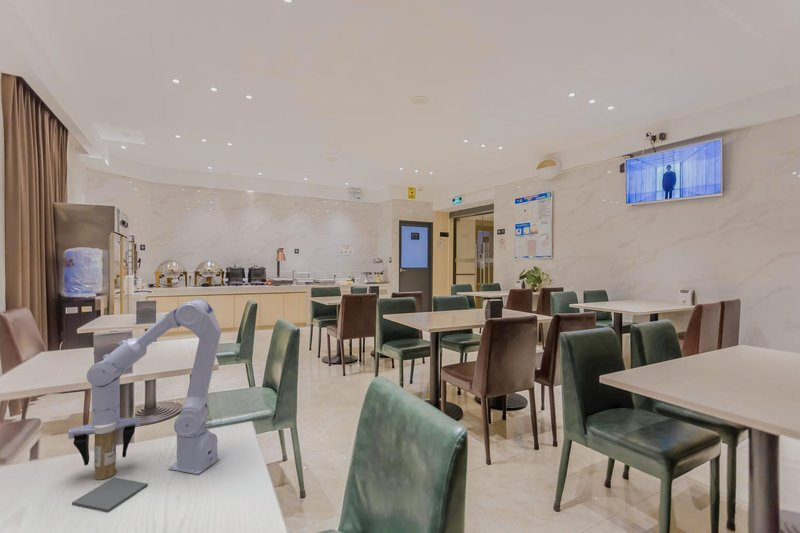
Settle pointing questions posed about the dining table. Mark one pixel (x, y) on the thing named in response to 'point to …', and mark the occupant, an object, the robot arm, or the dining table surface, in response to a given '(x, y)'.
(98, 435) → the sprinkles bottle
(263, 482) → the dining table surface
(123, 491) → the coaster
